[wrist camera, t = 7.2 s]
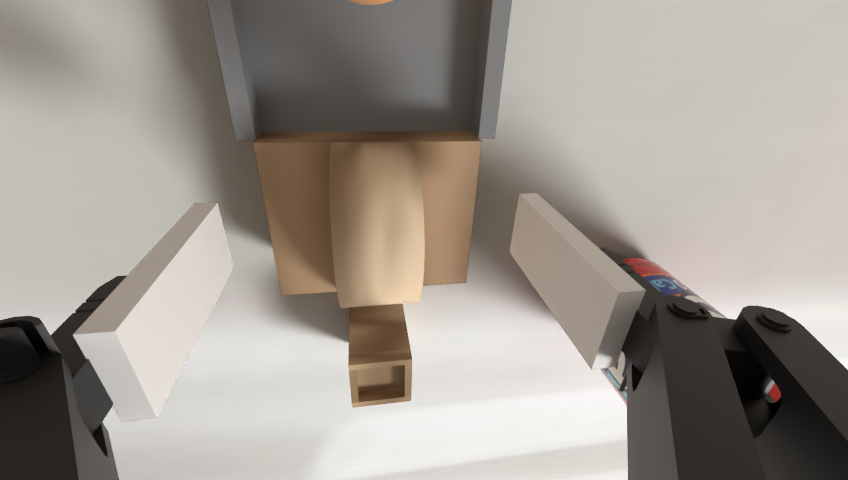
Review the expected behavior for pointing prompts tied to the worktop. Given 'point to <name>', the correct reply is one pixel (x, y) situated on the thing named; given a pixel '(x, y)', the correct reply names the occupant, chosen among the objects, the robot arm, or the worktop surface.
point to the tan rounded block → (369, 211)
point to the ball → (370, 2)
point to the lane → (361, 65)
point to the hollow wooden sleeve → (379, 355)
